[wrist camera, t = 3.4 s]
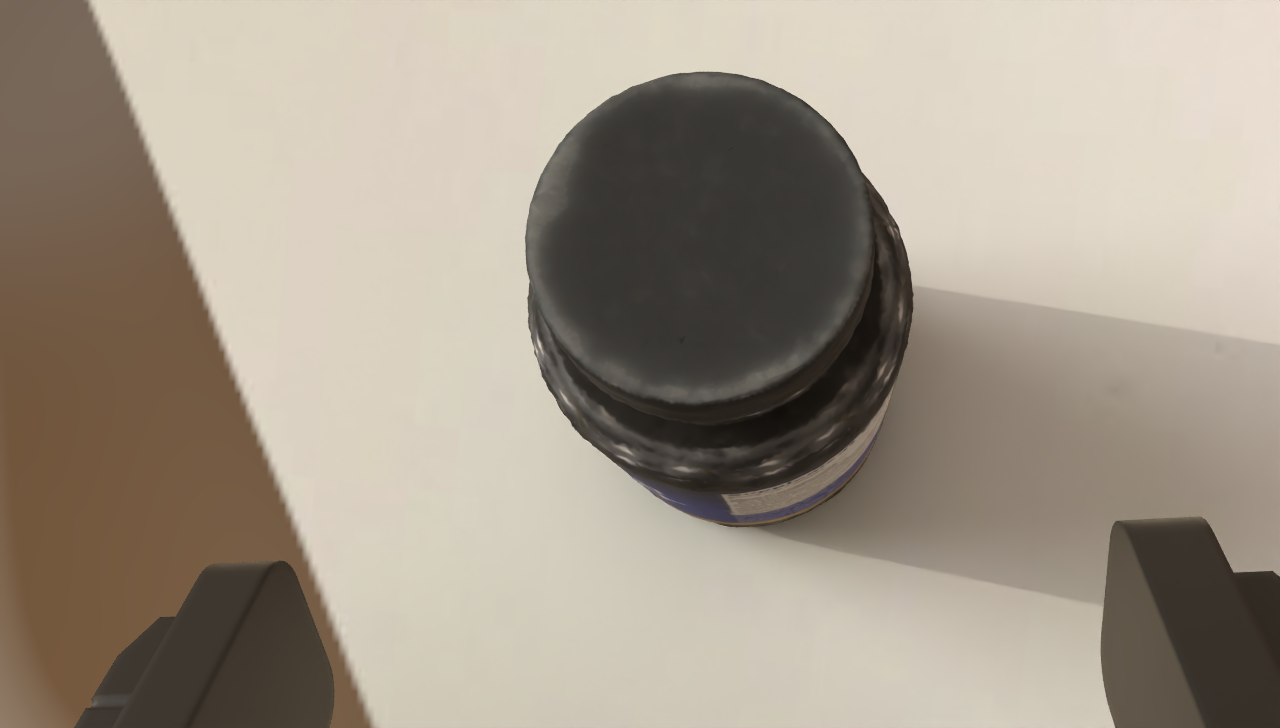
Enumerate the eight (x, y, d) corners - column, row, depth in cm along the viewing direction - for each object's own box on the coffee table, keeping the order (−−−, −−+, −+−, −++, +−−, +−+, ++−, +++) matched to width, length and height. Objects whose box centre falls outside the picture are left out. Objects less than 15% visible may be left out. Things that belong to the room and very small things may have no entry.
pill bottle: (563, 342, 27) (396, 155, 17) (797, 210, 27) (779, -64, 16) (692, 583, 26) (599, 547, 15) (942, 444, 25) (1027, 308, 15)
